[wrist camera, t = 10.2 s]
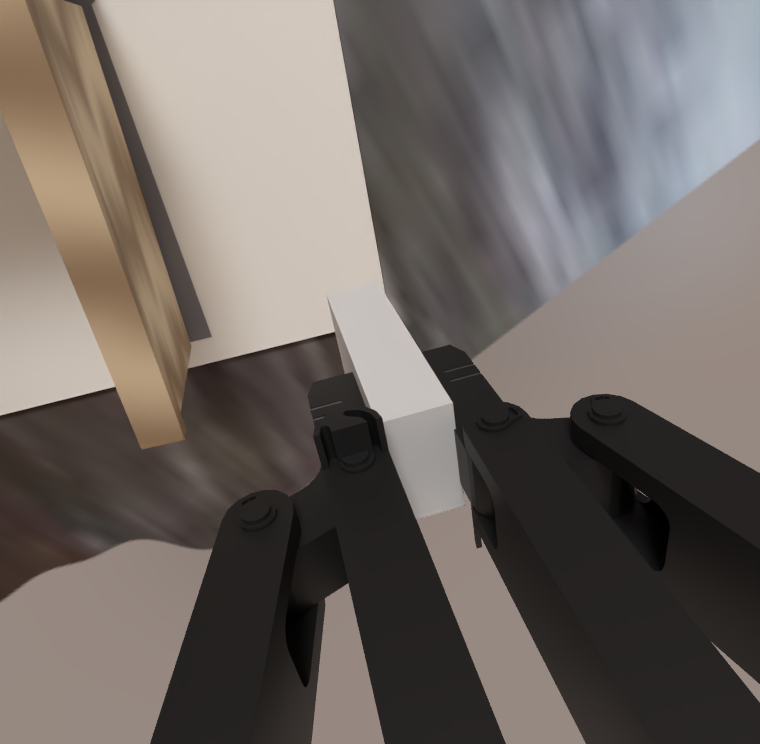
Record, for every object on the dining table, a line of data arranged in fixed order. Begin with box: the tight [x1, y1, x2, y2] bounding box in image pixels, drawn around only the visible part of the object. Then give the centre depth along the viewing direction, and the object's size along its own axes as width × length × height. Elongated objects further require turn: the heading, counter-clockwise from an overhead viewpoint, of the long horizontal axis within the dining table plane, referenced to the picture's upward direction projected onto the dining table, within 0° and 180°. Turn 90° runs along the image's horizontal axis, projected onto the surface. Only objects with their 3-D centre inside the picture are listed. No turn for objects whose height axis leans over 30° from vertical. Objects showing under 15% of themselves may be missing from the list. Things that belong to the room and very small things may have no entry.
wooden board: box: [0, 0, 192, 449], centre depth 23 cm, size 19×2×9 cm, turn 7°
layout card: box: [0, 0, 385, 415], centre depth 27 cm, size 27×22×1 cm
